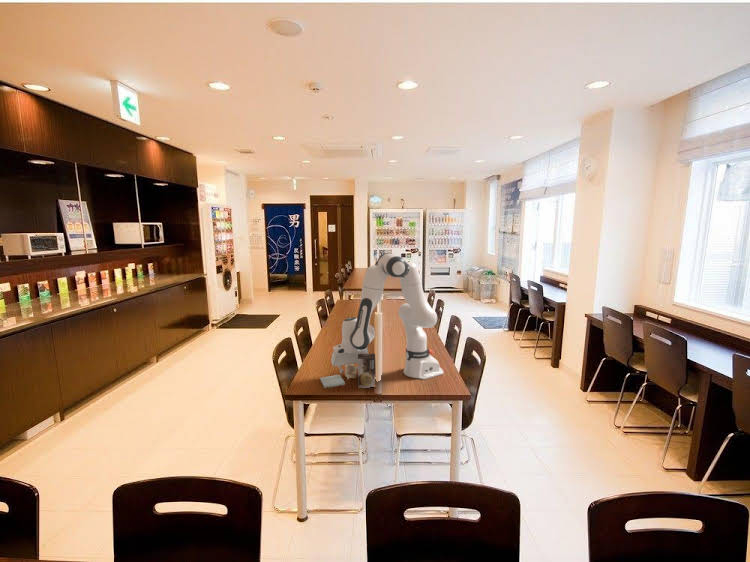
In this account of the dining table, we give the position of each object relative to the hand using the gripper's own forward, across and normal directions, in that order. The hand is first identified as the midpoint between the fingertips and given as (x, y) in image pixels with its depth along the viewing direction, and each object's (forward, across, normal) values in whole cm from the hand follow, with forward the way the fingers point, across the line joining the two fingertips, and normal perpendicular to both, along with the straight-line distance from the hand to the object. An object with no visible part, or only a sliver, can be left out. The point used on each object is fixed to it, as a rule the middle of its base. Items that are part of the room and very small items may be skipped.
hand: (350, 371), depth 192 cm
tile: (+4, +10, +2) cm, 11 cm away
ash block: (+4, -1, -1) cm, 4 cm away
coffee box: (+4, -5, +12) cm, 14 cm away
